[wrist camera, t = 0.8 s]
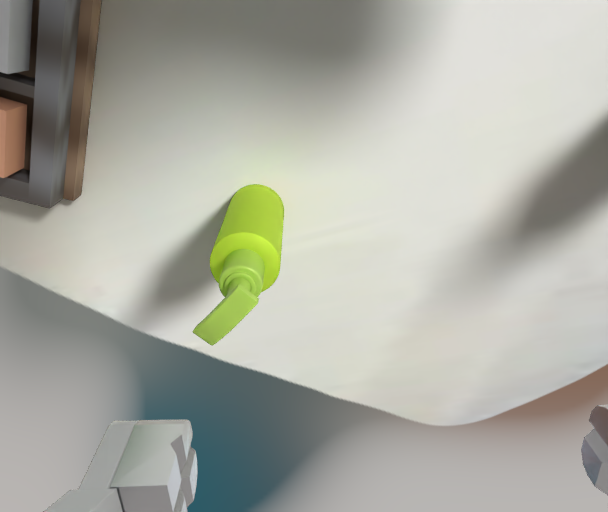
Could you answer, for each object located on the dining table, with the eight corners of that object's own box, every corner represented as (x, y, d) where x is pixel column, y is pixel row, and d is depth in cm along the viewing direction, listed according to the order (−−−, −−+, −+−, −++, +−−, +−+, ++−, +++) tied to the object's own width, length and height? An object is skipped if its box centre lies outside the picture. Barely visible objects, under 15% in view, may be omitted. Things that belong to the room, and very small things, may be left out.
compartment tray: (-68, -215, 37) (-119, -248, 33) (117, -149, 39) (93, -171, 35) (-60, 157, 49) (-95, 171, 45) (81, 194, 51) (60, 211, 47)
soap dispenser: (212, 218, 53) (168, 320, 35) (253, 173, 51) (229, 255, 33) (253, 251, 54) (232, 364, 36) (295, 209, 52) (294, 306, 34)
